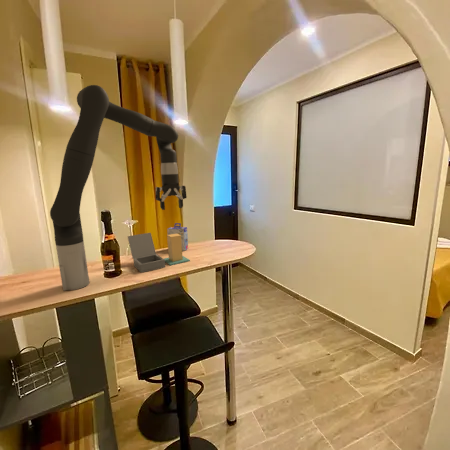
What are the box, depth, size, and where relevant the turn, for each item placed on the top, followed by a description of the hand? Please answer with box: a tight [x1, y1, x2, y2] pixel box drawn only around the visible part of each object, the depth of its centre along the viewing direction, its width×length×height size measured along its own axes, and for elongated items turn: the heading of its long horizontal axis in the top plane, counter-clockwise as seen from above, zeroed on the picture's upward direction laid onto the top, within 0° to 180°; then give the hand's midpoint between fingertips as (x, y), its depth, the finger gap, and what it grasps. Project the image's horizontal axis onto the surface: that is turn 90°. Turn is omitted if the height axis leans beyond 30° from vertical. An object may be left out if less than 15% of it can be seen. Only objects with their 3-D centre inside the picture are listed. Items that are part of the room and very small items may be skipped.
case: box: [132, 253, 166, 273], centre depth 124 cm, size 11×11×4 cm
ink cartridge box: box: [166, 222, 189, 252], centre depth 149 cm, size 10×6×14 cm, turn 78°
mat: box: [163, 255, 191, 266], centre depth 132 cm, size 10×10×1 cm
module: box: [166, 234, 183, 262], centre depth 130 cm, size 5×5×12 cm
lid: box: [127, 232, 157, 259], centre depth 131 cm, size 11×11×2 cm
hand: (172, 208), depth 127 cm, fingers open, 8 cm apart
